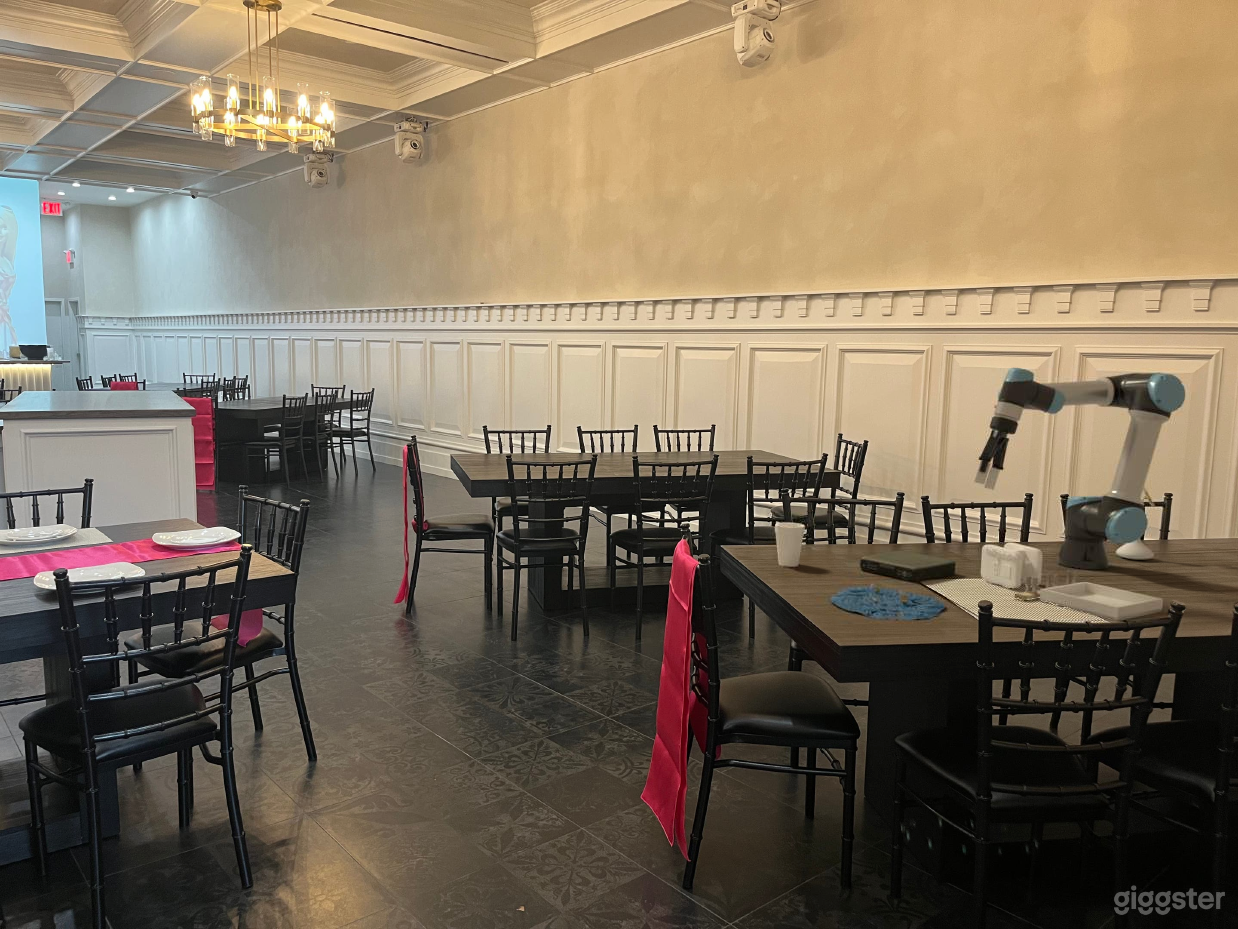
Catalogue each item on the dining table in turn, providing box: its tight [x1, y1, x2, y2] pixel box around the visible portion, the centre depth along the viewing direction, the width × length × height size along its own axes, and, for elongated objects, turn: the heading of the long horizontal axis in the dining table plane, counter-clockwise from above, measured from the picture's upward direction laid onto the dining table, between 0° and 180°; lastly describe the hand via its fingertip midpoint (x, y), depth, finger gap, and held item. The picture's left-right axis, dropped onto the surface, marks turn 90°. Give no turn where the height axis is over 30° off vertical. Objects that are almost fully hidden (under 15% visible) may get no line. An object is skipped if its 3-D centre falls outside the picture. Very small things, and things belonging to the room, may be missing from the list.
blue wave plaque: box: [829, 583, 946, 621], centre depth 244 cm, size 30×30×5 cm
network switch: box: [859, 549, 956, 583], centre depth 285 cm, size 23×23×5 cm
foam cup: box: [774, 522, 806, 568], centre depth 294 cm, size 10×9×13 cm
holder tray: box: [1039, 581, 1164, 622], centre depth 246 cm, size 20×22×4 cm
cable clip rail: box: [1014, 569, 1079, 600], centre depth 258 cm, size 28×3×6 cm, turn 120°
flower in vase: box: [1115, 485, 1156, 561], centre depth 312 cm, size 13×11×25 cm
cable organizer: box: [980, 542, 1043, 589], centre depth 270 cm, size 15×11×12 cm
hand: (984, 486), depth 275 cm, fingers open, 13 cm apart
